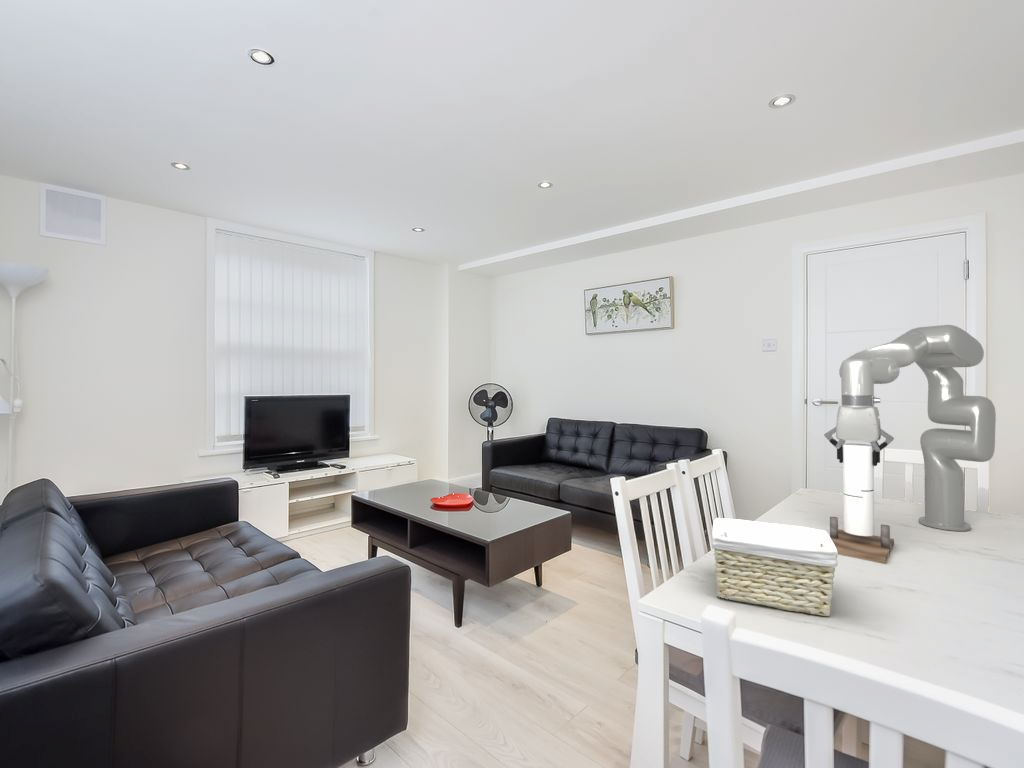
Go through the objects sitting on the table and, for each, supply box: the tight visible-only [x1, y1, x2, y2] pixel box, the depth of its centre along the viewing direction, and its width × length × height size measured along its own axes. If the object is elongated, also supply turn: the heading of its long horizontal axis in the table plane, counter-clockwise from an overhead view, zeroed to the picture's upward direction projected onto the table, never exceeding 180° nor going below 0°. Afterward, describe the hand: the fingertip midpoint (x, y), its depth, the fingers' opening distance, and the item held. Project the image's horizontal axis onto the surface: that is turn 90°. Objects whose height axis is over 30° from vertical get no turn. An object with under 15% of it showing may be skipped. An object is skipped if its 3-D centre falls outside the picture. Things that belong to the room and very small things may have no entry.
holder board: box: [829, 516, 895, 564], centre depth 136 cm, size 20×14×8 cm
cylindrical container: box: [842, 443, 875, 536], centre depth 136 cm, size 7×7×25 cm
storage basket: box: [711, 517, 839, 617], centre depth 107 cm, size 24×16×15 cm
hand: (858, 463), depth 136 cm, fingers closed on cylindrical container, 7 cm apart
